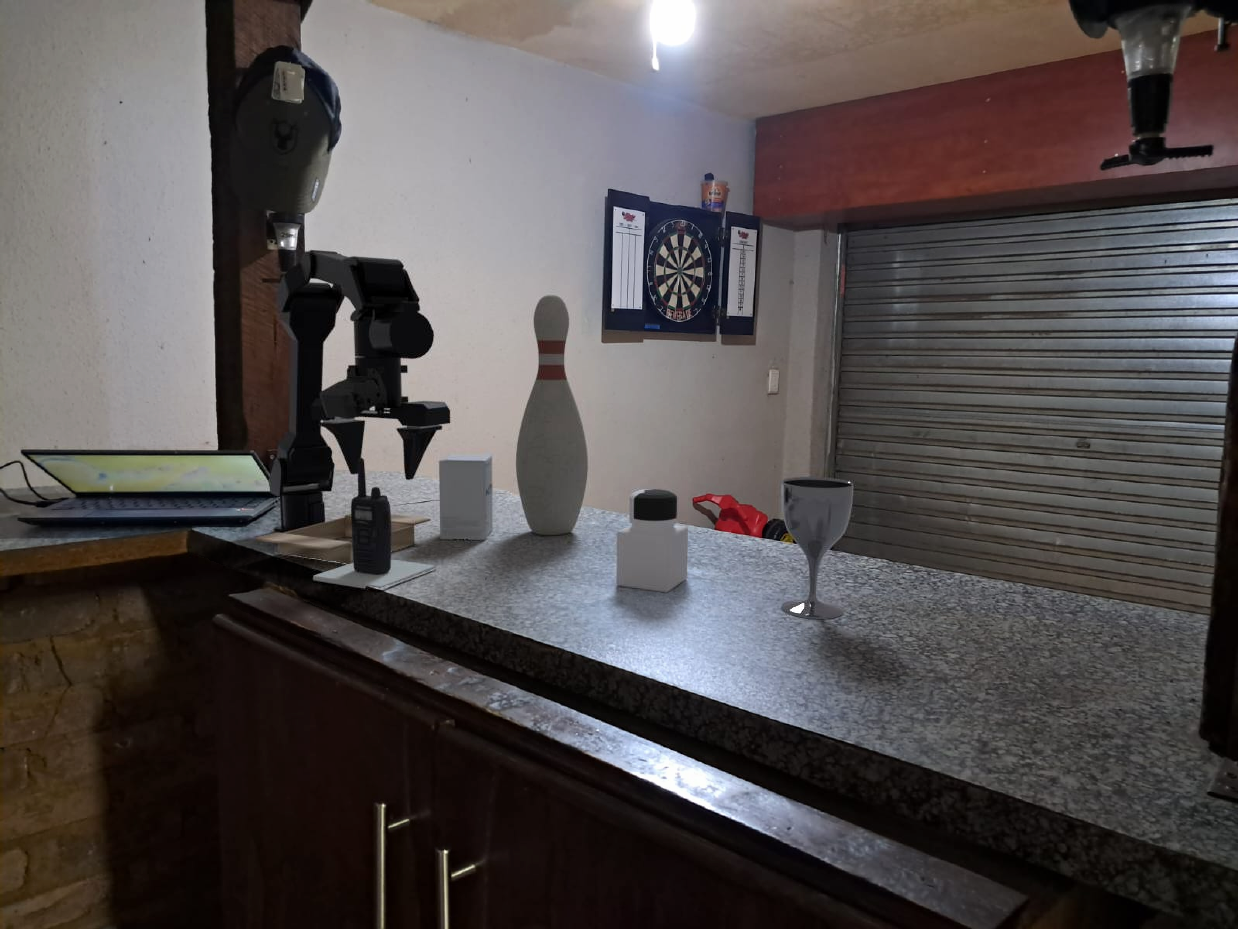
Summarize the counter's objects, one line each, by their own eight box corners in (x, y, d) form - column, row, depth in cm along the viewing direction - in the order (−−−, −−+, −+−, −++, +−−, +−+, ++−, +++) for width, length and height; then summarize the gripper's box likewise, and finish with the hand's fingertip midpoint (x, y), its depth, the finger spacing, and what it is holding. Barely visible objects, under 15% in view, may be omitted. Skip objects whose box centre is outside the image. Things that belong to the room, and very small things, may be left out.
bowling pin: (534, 543, 129) (533, 291, 124) (506, 528, 139) (504, 295, 134) (598, 535, 135) (599, 294, 129) (567, 522, 145) (567, 297, 139)
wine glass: (807, 624, 92) (813, 490, 90) (763, 604, 99) (767, 479, 97) (862, 614, 96) (868, 485, 94) (815, 595, 103) (821, 475, 101)
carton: (255, 561, 117) (254, 537, 117) (362, 530, 137) (362, 510, 136) (330, 572, 112) (329, 548, 111) (430, 539, 131) (430, 518, 131)
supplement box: (486, 540, 131) (485, 460, 129) (439, 540, 131) (437, 459, 129) (494, 530, 138) (493, 454, 136) (449, 529, 138) (447, 453, 136)
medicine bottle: (687, 579, 110) (689, 489, 108) (667, 593, 104) (669, 497, 102) (637, 572, 113) (638, 484, 111) (615, 586, 107) (616, 493, 105)
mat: (313, 580, 108) (313, 575, 108) (371, 560, 118) (371, 556, 118) (380, 591, 103) (380, 586, 103) (435, 570, 113) (435, 565, 113)
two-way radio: (347, 572, 110) (343, 458, 108) (369, 564, 114) (366, 454, 112) (381, 576, 108) (378, 460, 105) (403, 568, 112) (400, 456, 110)
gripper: (275, 356, 105) (281, 479, 107) (393, 359, 97) (397, 492, 99) (339, 355, 115) (343, 468, 117) (451, 358, 107) (453, 479, 109)
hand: (381, 476), depth 110 cm, fingers open, 9 cm apart
